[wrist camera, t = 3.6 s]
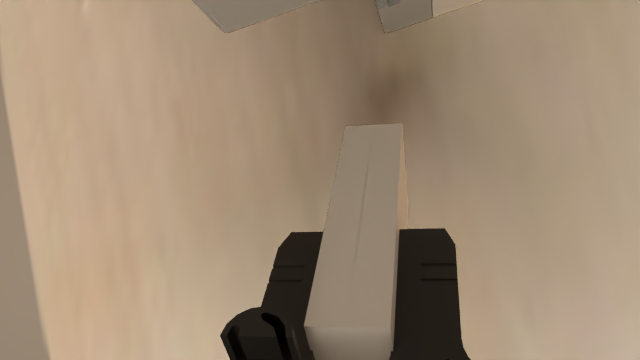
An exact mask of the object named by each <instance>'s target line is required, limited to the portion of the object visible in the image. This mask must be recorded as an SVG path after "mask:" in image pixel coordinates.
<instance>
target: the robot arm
mask: <svg viewBox="0 0 640 360" xmlns="http://www.w3.org/2000/svg"><path fill="white" fill-rule="evenodd" d="M408 210H409V201H408V188H407V176H406V164H405V151H404V139H403V127H402V123H391V124H374V125H357V126H346V127H345V131H344V136H343V141H342V146H341V150H340V155H339V160H338V165H337V170H336V174H335V179H334V184H333V189H332V194H331V198H330V203H329V208H328V213H327V218H326V222H325V227H324V232H291V233H290V235H289V236H288V237H287V238H286V239H285V241H284V242H283V243H282V244H281V245H280V247H279V248H278V251H277V254H276V258H275V261H274V265H273V269H272V271H271V275H270V278H269V283H268V285H267V288H266V292H265V295H264V299H263V302H262V306H261V307H257V308H250V309H248V310H246V311H244V312H242V313H240V314H238V315H236V316H235V317H234V318H233V319H232V320H231V321H230V322H228V323H227V324H226V326H225V328H224V330H223V331H222V333H221V335H220V336H221V339H222V341H223V343H224V346H225V348H226V351H227V353H228V355H229V358H230V360H470V358H469V357H468V356H467V354H466V352H465V350H464V348H463V344H462V339H461V326H460V310H459V294H458V279H457V263H456V248H455V243H454V242H453V240H452V239H451V237H450V236H449V234H448V233H447V231H446V230H445V228H441V229H408Z"/></svg>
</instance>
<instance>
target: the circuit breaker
mask: <svg viewBox="0 0 640 360" xmlns="http://www.w3.org/2000/svg"><path fill="white" fill-rule="evenodd" d="M192 1H193V2H194V3H195V4H196V5H197V6H198V7H199V8H200V9H201V10H202V11H203V12H204V13H205V14H206V15H207V16H208V17H209V18H210V19H211V20H212V21H213V22H214V23H215V24H216V25H217V26H218V27H219V28H220V29H221V30H222V31H223V32H224V33H230V32H233V31H236V30H238V29H241V28H244V27H247V26H250V25H252V24H255V23H258V22H261V21H264V20H266V19H269V18H272V17H275V16H278V15H280V14H283V13H286V12H289V11H292V10H295V9H297V8H300V7H303V6H306V5H309V4H311V3H314V2H317V1H320V0H192ZM480 1H483V0H375V3H376V6H377V10H378V13H379V16H380V19H381V23H382V26H383V29H384V33H389V32H392V31H395V30H398V29H401V28H404V27H407V26H410V25H413V24H416V23H419V22H422V21H425V20H427V19H430V18H432V16H433V17H436V16H439V15H442V14H445V13H448V12H451V11H454V10H457V9H459V8H462V7H465V6H468V5H471V4H474V3H477V2H480Z"/></svg>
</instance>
